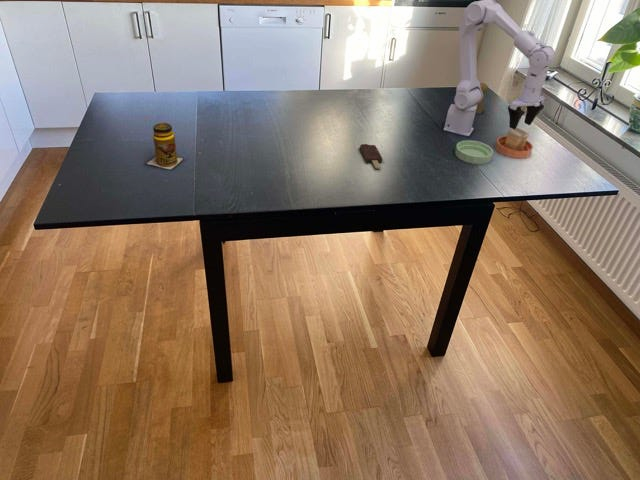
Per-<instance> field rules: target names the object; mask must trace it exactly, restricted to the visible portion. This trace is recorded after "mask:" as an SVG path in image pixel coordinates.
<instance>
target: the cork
mask: <svg viewBox="0 0 640 480" xmlns="http://www.w3.org/2000/svg"><path fill="white" fill-rule="evenodd" d="M480 87H481V90H482V93H483V98H482V100H481V102H479V103H478V104H477V109H476V113H475V115H479V114H482V113H483V112H484V105H485V98H486V97H485V96H486V93H487V91H488V89H489V86H488V84H487V83H484V82H480Z"/></svg>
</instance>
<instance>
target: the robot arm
mask: <svg viewBox="0 0 640 480" xmlns="http://www.w3.org/2000/svg"><path fill="white" fill-rule="evenodd" d="M483 24H495V26H497V27H498V28H500V29H501V30H502V31H503V32H505V33H506V34H507V36H509V37H510V38H511V39H513V46H514V47H515V48H516V49H517V50H519V52H520V53H521V54H522V55H523V56H524V57H525V58H526V59H528V64H529V67H528V70H527V73H526V76H525V79H524V82H523V86H522V89H521V92H520V95H519V97H517V98H515V100H513V101H511V102H510V104H509V105H508V107H507V111H508V115H509V124H508V125H509V126H508V127H509V128H510V129H511V130H512V129H516V128H518V125H519V122H520V121H521V119H522V117H523V116H524V114H525V117H524V124H525V125H528V126H531V125H532V123H533V122H534V121H535V119H536V117H537V116H538V115H539V113H540V112H541V111H542V110H544V108H545V105H544V102H545V99H546V97H545V96H543V95H541V93H542V90H543V87H544V84H545V81H546V78H547V76H548V72H549V69H550V65H552V64H553V62H554V61H555V60H556V52H555V49H554V48H553V46H550V45H546V43H545V42H541V40H540V39H538V38H537V36H536V35H535V34H536V33H535V32H534V31H533V30H529V29H525V30H524V29H522V28H521V27H520V26H519V25H518V24H517V23H516V22H515V21H514V20H513V19H512V18H511V17H510V15H509V14H508V13H507V12H506V11H505V10H504V8H503V7H502V5H501V4H500V3H498V2H497V1H496V0H477V1H476V0H475V1H473V2H471V3H470V4H468V5H467V7H465V9H464V10H463V17H462V18H461V21H460V24H459V28H458V33H459V34H458V35H459V36H458V37H459V70H460V71H459V73H460V74H459V75H460V81H459V83H458V85H457V87H456V90H455V91H456V93H455V95H454V99H453V100H454V101H453V102H454V103H451V104H450V106H449V108H448V110H447V115H446V119H445V124H444V127H443V131H446V132H450V133H453V134H456V135H457V134H458V135H461V136H465V137H470V135H471V134H472V132H473V131H474V130H475V128H474V127H473V123H474V120H475V116H476V114H475V113H476V109H477V104H478V103H479V102H481V100H482V98H483V93H482V90H481V87H480V83H481V82H480V80H478V77H477V76H478V75H477V74H478V70H477V68H478V67H477V66H478V65H477V64H478V63H477V61H478V60H477V31H478V30H479V29H480V28H481V26H483ZM523 107H526V111H524V110H523V109H522V108H523Z"/></svg>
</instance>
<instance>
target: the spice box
mask: <svg viewBox="0 0 640 480" xmlns="http://www.w3.org/2000/svg"><path fill="white" fill-rule="evenodd" d="M529 134H530V133H529V132H527V131H525V130H524V129H521V128H519V127H516V129H512V128H511V129H509V130H508V133H507V135H506V136H507V139H506V142H505V145H504V147H505V148H507V149H511V150H514V151H523V149H524V146H525V143H526V140H527V139H528V137H529ZM527 141H528V140H527Z"/></svg>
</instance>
